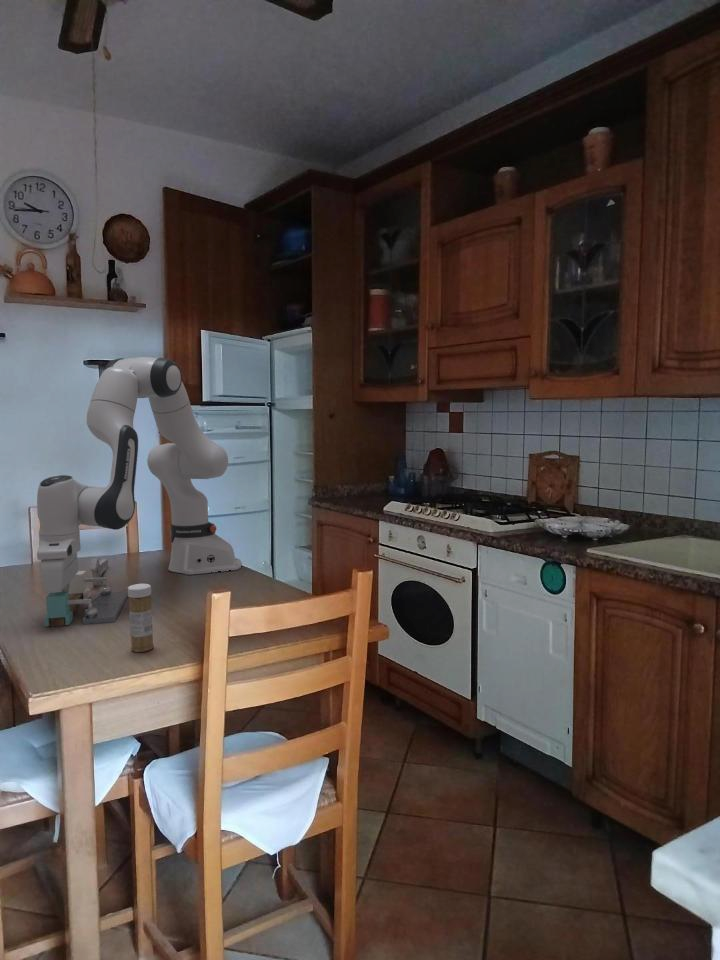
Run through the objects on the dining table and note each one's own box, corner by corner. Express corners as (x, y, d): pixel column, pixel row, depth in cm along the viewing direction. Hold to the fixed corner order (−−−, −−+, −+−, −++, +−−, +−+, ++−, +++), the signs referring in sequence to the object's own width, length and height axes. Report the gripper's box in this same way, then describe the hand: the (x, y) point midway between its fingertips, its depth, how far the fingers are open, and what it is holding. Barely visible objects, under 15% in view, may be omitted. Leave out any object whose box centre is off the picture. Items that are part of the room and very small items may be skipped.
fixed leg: (108, 594, 182) (107, 569, 182) (106, 598, 178) (104, 573, 178) (68, 597, 180) (67, 571, 180) (65, 601, 176) (63, 575, 176)
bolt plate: (128, 595, 183) (127, 585, 182) (114, 622, 159) (113, 610, 159) (100, 596, 181) (100, 586, 181) (82, 624, 158) (82, 612, 158)
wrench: (108, 576, 216) (97, 589, 187) (102, 576, 216) (90, 589, 187) (107, 550, 216) (96, 559, 187) (101, 551, 216) (89, 560, 187)
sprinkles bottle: (146, 643, 144) (143, 581, 143) (158, 648, 141) (155, 585, 140) (126, 649, 141) (123, 586, 140) (137, 654, 138) (134, 589, 136)
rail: (84, 598, 180) (84, 590, 180) (64, 625, 157) (64, 617, 157) (72, 598, 180) (72, 591, 179) (50, 626, 157) (50, 618, 157)
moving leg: (94, 618, 162) (92, 589, 161) (91, 623, 158) (89, 594, 157) (49, 621, 160) (47, 592, 159) (45, 626, 156) (43, 597, 155)
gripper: (56, 537, 171) (59, 590, 173) (34, 554, 151) (38, 614, 153) (82, 535, 172) (86, 589, 174) (64, 552, 152) (68, 612, 154)
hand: (63, 601), depth 163 cm, fingers closed
